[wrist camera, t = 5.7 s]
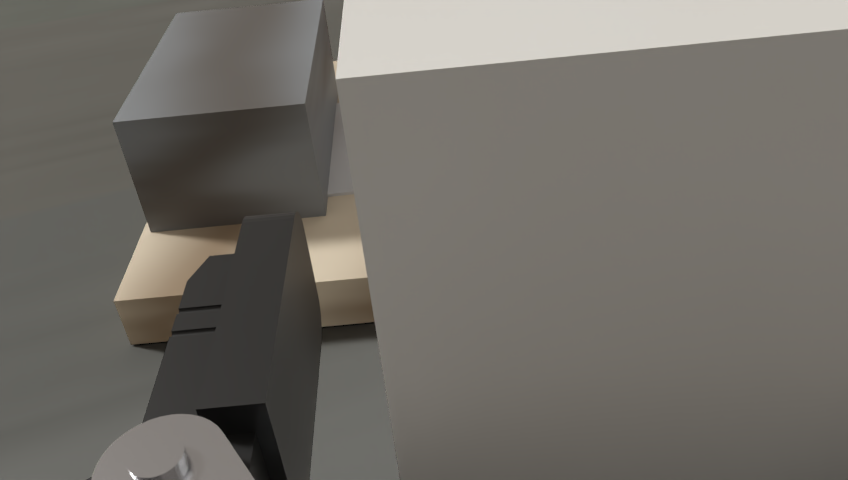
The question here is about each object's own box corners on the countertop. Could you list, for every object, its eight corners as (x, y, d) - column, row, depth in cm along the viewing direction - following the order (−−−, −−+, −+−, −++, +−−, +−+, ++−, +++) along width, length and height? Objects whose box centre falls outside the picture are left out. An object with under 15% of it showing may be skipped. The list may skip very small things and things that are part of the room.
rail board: (131, 344, 21) (66, 183, 18) (217, 107, 33) (186, -15, 30) (813, 280, 21) (858, 108, 18) (661, 64, 32) (673, -64, 30)
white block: (457, 834, 12) (336, 79, 5) (437, 535, 16) (356, -110, 9) (762, 807, 12) (1087, 4, 5) (665, 514, 16) (762, -150, 9)
